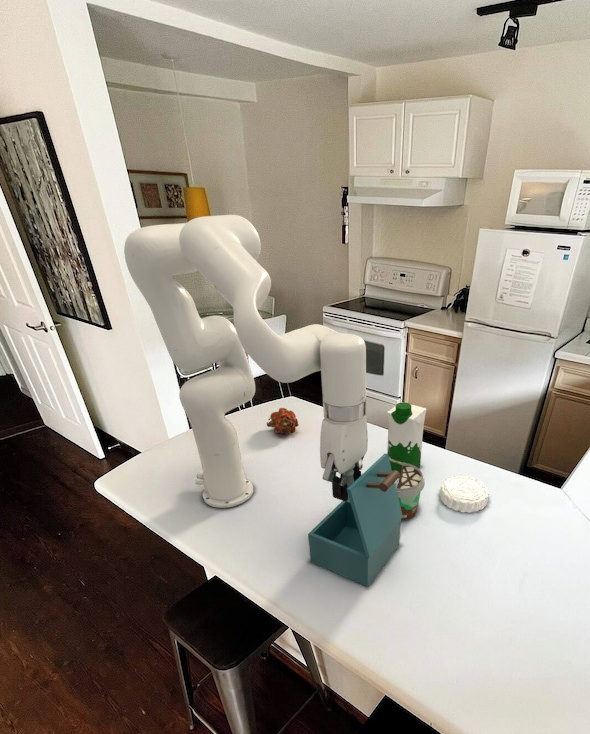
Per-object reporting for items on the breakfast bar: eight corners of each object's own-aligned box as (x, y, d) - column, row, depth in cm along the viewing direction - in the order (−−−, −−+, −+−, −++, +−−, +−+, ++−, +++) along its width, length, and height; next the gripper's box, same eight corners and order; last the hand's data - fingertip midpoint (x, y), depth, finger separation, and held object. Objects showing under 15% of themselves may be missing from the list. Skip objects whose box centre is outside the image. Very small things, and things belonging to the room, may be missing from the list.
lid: (346, 489, 77) (372, 491, 74) (384, 453, 88) (408, 453, 85) (366, 556, 84) (390, 561, 81) (399, 516, 94) (422, 518, 91)
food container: (419, 527, 103) (422, 493, 98) (393, 524, 104) (394, 489, 99) (424, 497, 113) (427, 464, 108) (400, 494, 114) (402, 461, 109)
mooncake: (467, 519, 106) (469, 507, 104) (430, 497, 113) (431, 485, 111) (497, 500, 113) (499, 488, 110) (460, 479, 120) (461, 468, 118)
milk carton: (382, 471, 123) (383, 405, 112) (398, 457, 130) (401, 393, 118) (409, 480, 119) (414, 413, 108) (424, 465, 126) (430, 400, 114)
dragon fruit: (294, 444, 138) (274, 435, 147) (309, 422, 140) (289, 415, 148) (276, 429, 132) (257, 420, 141) (292, 406, 134) (272, 399, 142)
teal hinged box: (310, 561, 94) (307, 534, 90) (345, 524, 104) (345, 498, 100) (367, 587, 88) (367, 558, 84) (399, 545, 99) (401, 518, 94)
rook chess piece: (336, 489, 90) (334, 455, 86) (357, 488, 91) (357, 454, 86) (336, 502, 87) (334, 467, 82) (359, 501, 87) (359, 466, 82)
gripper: (351, 387, 85) (353, 467, 96) (298, 421, 73) (306, 508, 84) (386, 395, 82) (383, 477, 93) (336, 432, 70) (340, 521, 81)
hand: (347, 491), depth 88 cm, fingers closed on rook chess piece, 4 cm apart
